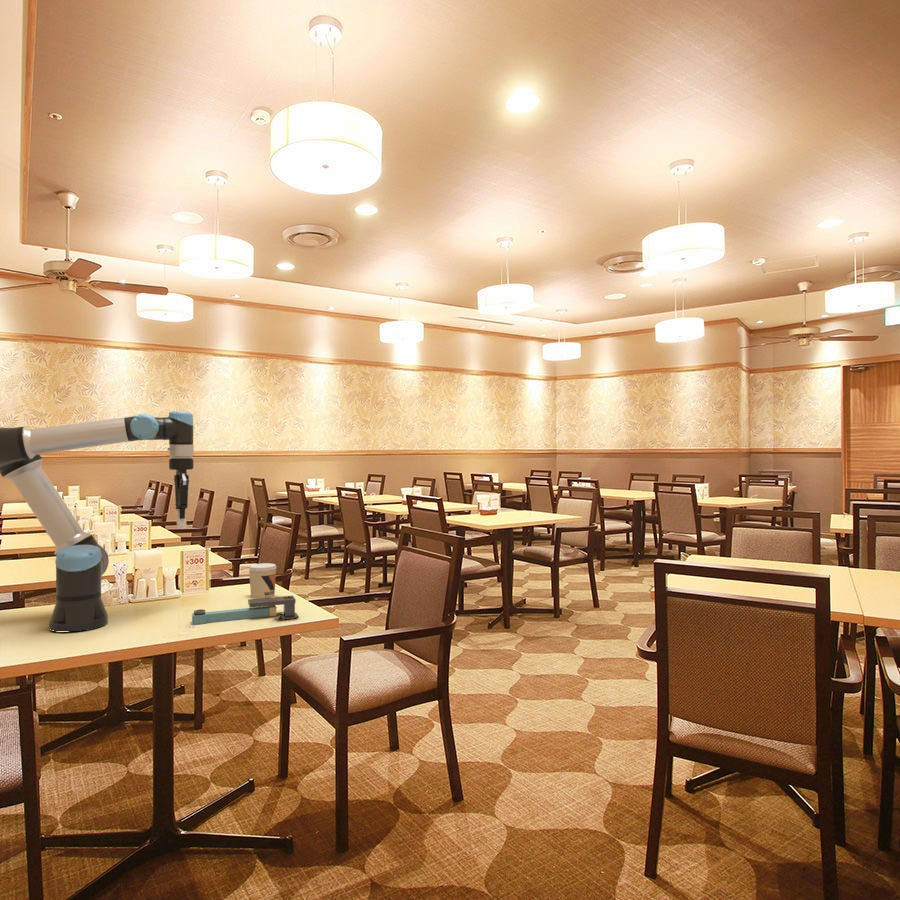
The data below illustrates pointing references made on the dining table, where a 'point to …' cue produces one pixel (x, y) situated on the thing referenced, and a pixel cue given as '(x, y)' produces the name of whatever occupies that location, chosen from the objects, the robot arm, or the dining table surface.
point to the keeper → (286, 600)
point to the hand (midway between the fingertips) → (181, 528)
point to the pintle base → (199, 612)
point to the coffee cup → (262, 580)
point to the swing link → (234, 614)
